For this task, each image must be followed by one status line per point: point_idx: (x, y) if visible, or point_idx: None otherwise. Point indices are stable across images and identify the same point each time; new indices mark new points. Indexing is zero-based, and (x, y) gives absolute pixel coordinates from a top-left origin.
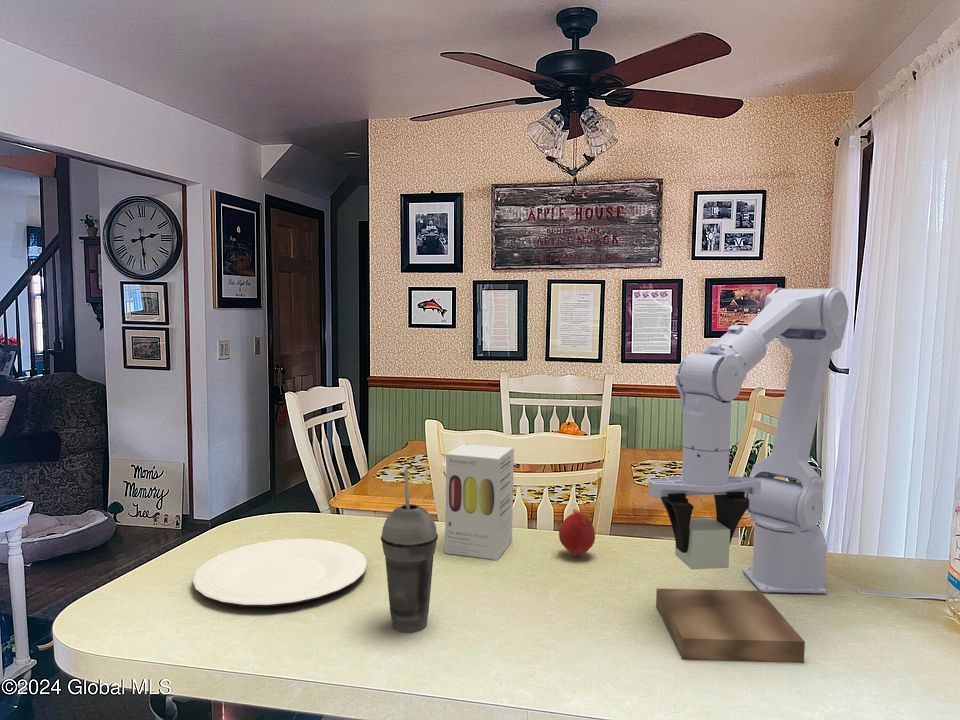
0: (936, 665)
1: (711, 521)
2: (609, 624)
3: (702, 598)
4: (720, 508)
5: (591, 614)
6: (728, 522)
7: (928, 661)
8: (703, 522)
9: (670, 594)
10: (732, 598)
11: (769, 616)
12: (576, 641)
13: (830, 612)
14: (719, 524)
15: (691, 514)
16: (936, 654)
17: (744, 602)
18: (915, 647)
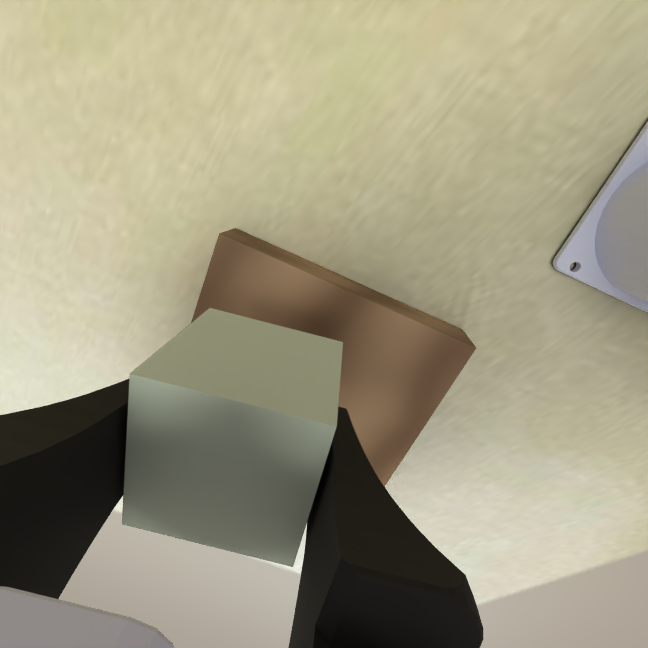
0: (544, 568)
1: (288, 469)
2: (91, 267)
3: (300, 327)
4: (318, 555)
5: (66, 208)
6: (303, 571)
7: (547, 559)
8: (239, 464)
9: (235, 280)
10: (370, 355)
11: (378, 445)
12: (6, 304)
13: (594, 399)
14: (295, 510)
15: (59, 595)
16: (585, 554)
17: (380, 381)
18: (581, 532)
